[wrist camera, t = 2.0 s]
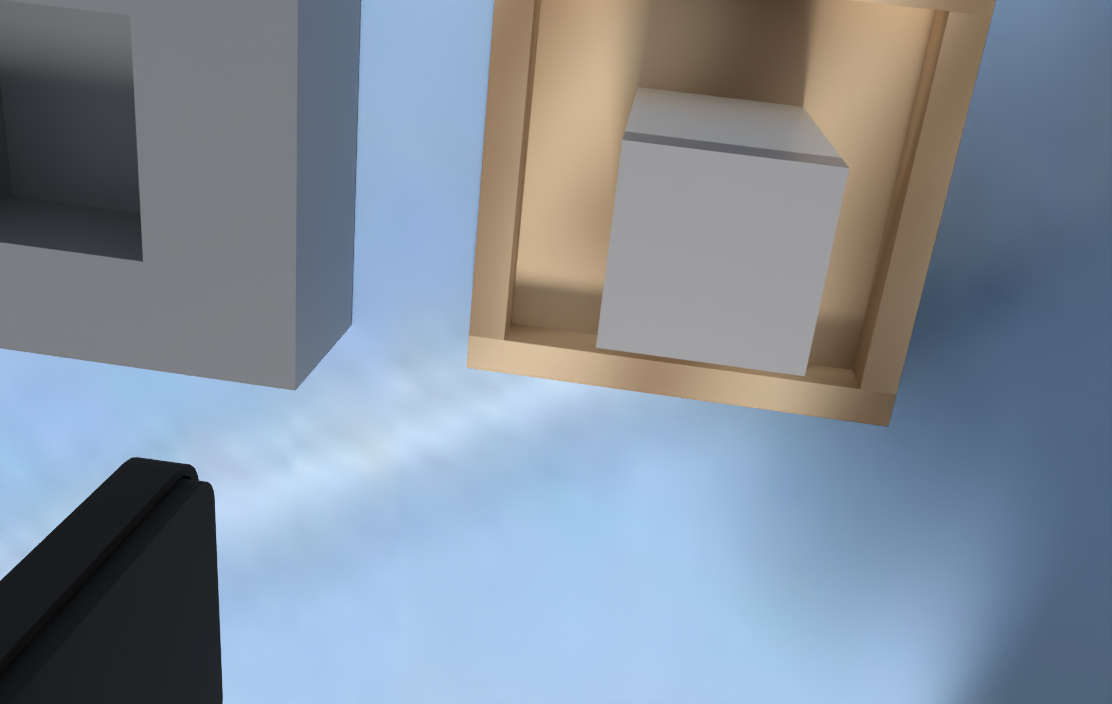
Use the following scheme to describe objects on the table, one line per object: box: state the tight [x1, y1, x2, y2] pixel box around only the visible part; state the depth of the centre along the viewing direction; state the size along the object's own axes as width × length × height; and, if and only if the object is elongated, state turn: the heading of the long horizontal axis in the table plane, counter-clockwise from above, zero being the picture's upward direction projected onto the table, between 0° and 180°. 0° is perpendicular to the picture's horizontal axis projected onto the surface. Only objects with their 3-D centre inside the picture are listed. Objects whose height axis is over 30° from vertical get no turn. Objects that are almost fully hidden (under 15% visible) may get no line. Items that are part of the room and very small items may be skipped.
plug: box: [596, 87, 849, 376], centre depth 24 cm, size 4×4×8 cm
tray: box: [467, 0, 996, 427], centre depth 28 cm, size 12×12×2 cm
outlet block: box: [0, 0, 361, 390], centre depth 27 cm, size 14×12×5 cm
